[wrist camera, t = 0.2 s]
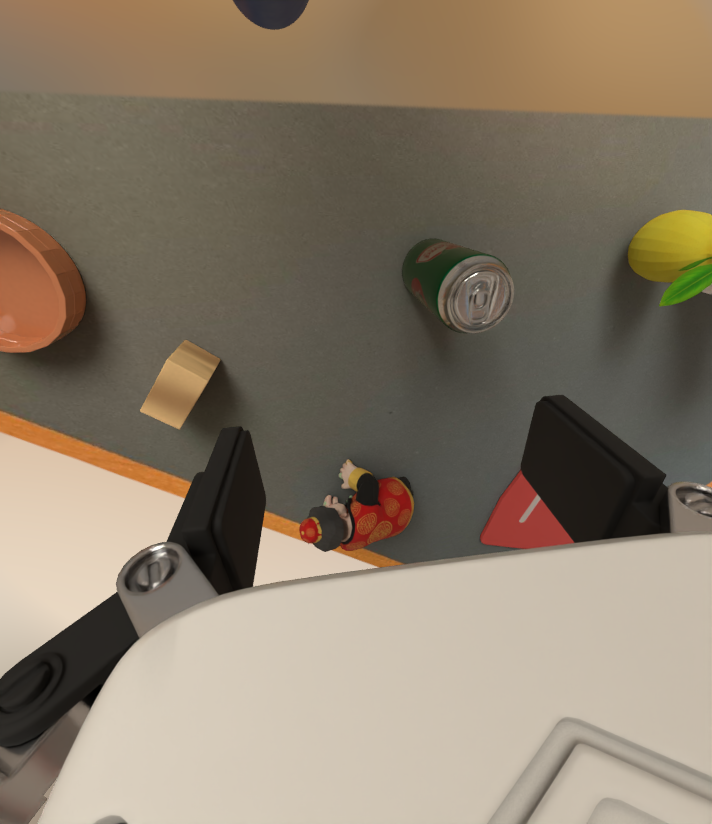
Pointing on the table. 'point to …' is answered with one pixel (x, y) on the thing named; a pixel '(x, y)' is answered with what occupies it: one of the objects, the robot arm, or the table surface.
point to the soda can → (459, 284)
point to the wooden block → (180, 384)
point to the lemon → (675, 253)
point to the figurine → (360, 512)
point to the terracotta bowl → (35, 287)
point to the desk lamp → (523, 520)
